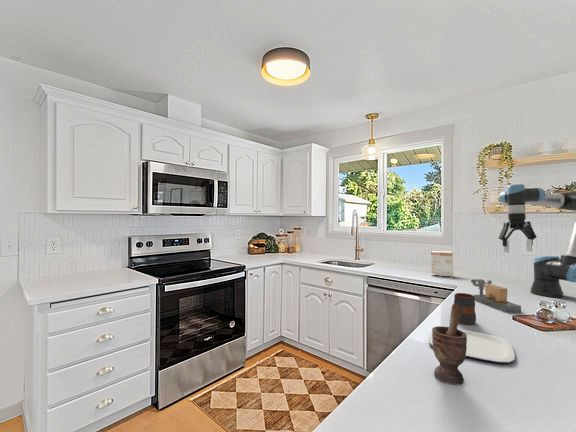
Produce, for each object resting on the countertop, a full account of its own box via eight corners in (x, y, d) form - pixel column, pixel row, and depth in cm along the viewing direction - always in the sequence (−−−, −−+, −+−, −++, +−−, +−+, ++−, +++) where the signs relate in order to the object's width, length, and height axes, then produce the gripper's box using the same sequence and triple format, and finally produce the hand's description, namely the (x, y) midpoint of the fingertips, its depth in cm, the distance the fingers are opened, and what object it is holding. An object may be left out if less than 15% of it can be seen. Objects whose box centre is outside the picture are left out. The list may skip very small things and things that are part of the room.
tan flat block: (492, 302, 161) (492, 284, 161) (507, 308, 151) (507, 288, 151) (485, 303, 161) (485, 284, 161) (500, 308, 151) (499, 288, 151)
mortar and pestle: (433, 363, 93) (433, 298, 93) (465, 370, 89) (465, 302, 89) (431, 380, 82) (431, 308, 83) (467, 389, 78) (467, 313, 79)
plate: (518, 371, 89) (518, 366, 89) (425, 351, 102) (425, 346, 102) (510, 342, 110) (510, 337, 110) (434, 328, 123) (434, 324, 124)
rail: (487, 299, 167) (487, 294, 167) (521, 312, 145) (521, 305, 145) (473, 300, 166) (473, 294, 166) (505, 312, 144) (505, 306, 145)
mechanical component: (492, 298, 171) (492, 280, 171) (472, 297, 173) (472, 279, 173) (489, 296, 174) (489, 279, 174) (470, 295, 176) (470, 278, 176)
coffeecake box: (452, 276, 237) (452, 251, 237) (452, 277, 231) (452, 252, 231) (432, 274, 245) (432, 250, 245) (431, 275, 239) (431, 251, 239)
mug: (477, 319, 135) (477, 293, 135) (475, 326, 125) (475, 298, 125) (455, 315, 140) (455, 290, 140) (451, 322, 130) (451, 295, 130)
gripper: (531, 212, 168) (532, 250, 168) (490, 213, 165) (491, 251, 165) (544, 212, 160) (545, 251, 160) (501, 213, 158) (502, 253, 158)
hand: (518, 251), depth 163 cm, fingers open, 13 cm apart
